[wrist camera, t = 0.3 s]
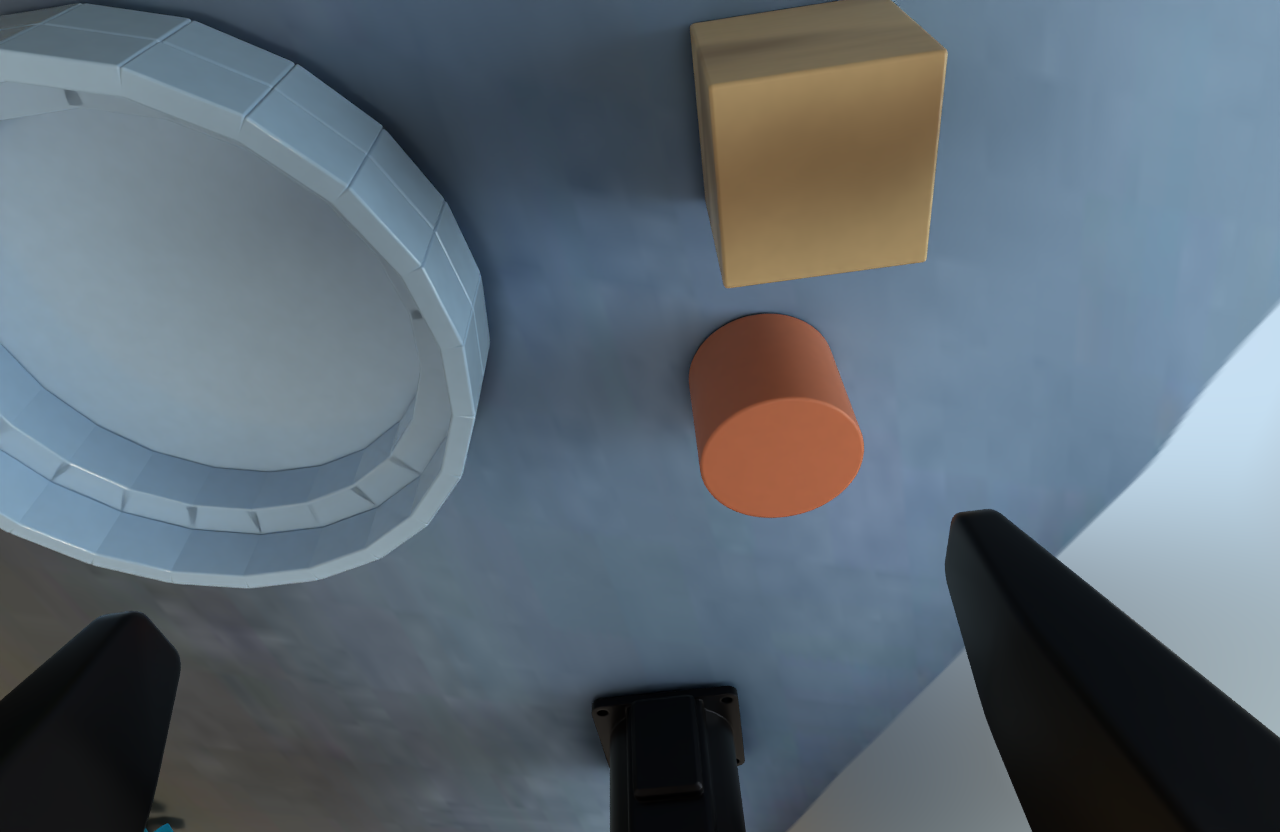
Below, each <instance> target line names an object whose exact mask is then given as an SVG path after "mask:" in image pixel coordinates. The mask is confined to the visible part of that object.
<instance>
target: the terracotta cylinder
mask: <svg viewBox="0 0 1280 832" xmlns="http://www.w3.org/2000/svg"><path fill="white" fill-rule="evenodd" d="M689 388H690V395H691V403H692V411H693V419H694V426H695V434H696V442H697V449H698V457H699V465H700V472H701V476H702V479H703V482H704V484H705V486H706V487H707V489H708V491H709V492H710V493H711V494H712V495H713V496H714V498H715V499H717V500H718V501H719V502H720V503H721V504H723V505H725V506H726V507H728V508H730V509H732V510H734V511H736V512H739V513H742V514H745V515H750V516H755V517H764V518H777V517H787V516H793V515H797V514H801V513H805V512H808V511H810V510H813V509H815V508H818V507H820V506H822V505H824V504H826V503H827V502H829V501H831V500H832V499H834V498H835V497H836V496H838V495H839V494H840V493H841V492H842V491H844V490H845V489H846V488H847V486H848V485H849V484H850V483H851V482H852V480H853V479H854V478H855V476H856V475H857V473H858V471H859V469H860V466H861V463H862V460H863V454H864V441H863V437H862V433H861V431H860V428H859V425H858V422H857V420H856V417H855V414H854V412H853V409H852V406H851V404H850V401H849V398H848V396H847V393H846V390H845V387H844V385H843V382H842V379H841V377H840V374H839V371H838V369H837V366H836V363H835V361H834V358H833V355H832V353H831V350H830V348H829V345H828V343H827V342H826V340H825V339H824V337H823V336H822V335H821V334H820V333H819V332H818V331H817V330H816V329H815V328H813V327H812V326H811V325H809V324H807V323H806V322H804V321H802V320H799V319H797V318H794V317H791V316H787V315H781V314H756V315H751V316H746V317H743V318H740V319H737V320H735V321H732V322H730V323H728V324H726V325H724V326H723V327H721V328H719V329H718V330H717V331H715V332H714V333H713V334H711V335H710V336H709V337H708V338H707V339H706V340H705V341H704V343H703V344H702V345H701V346H700V348H699V349H698V351H697V352H696V354H695V356H694V358H693V360H692V363H691V367H690V371H689Z"/></svg>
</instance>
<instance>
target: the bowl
mask: <svg viewBox="0 0 1280 832" xmlns="http://www.w3.org/2000/svg"><path fill="white" fill-rule="evenodd" d="M489 347H490V336H489V329H488V321H487V314H486V307H485V299H484V292H483V284H482V277H481V275H480V271H479V269H478V267H477V265H476V263H475V260H474V258H473V256H472V254H471V252H470V250H469V248H468V246H467V243H466V241H465V239H464V237H463V235H462V233H461V231H460V229H459V227H458V224H457V222H456V220H455V218H454V216H453V214H452V212H451V210H450V207H449V205H448V203H447V202H446V201H444V198H443V197H442V195H441V194H440V193H439V192H438V191H437V190H436V188H435V187H434V186H433V185H432V184H431V182H430V181H429V180H428V179H427V178H426V177H425V175H424V174H423V173H422V172H421V171H420V169H419V168H418V167H417V166H416V165H415V164H414V162H413V161H412V160H411V159H410V158H409V156H408V155H407V154H406V153H405V152H404V151H403V149H402V148H401V147H400V146H399V145H398V144H397V142H396V141H395V140H394V139H393V138H392V136H391V135H390V134H389V133H388V132H387V131H386V130H385V129H383V126H382V125H381V124H380V123H378V122H377V121H376V120H374V119H373V118H371V117H370V116H369V115H367V114H366V113H365V112H363V111H362V110H360V109H359V108H358V107H356V106H355V105H354V104H352V103H351V102H350V101H348V100H347V99H345V98H344V97H343V96H341V95H340V94H339V93H337V92H336V91H334V90H333V89H332V88H330V87H329V86H328V85H326V84H325V83H324V82H322V81H321V80H319V79H318V78H317V77H315V76H314V75H313V74H311V73H310V72H308V71H307V70H306V69H304V68H303V67H302V66H300V65H299V64H296V65H295V63H293V62H292V61H289V60H287V59H285V58H282V57H280V56H278V55H275V54H273V53H270V52H268V51H266V50H263V49H261V48H259V47H256V46H254V45H251V44H249V43H247V42H244V41H242V40H240V39H237V38H235V37H232V36H230V35H228V34H225V33H223V32H221V31H218V30H216V29H213V28H211V27H209V26H206V25H204V24H202V23H199V22H197V21H191V19H188V18H183V17H176V16H170V15H163V14H156V13H149V12H142V11H135V10H128V9H122V8H115V7H108V6H101V5H94V4H87V3H85V4H82V3H76V4H70V5H64V6H58V7H52V8H46V9H40V10H34V11H28V12H22V13H16V14H10V15H4V16H0V528H1V529H2V530H4V531H6V532H10V533H11V534H13V535H16V536H18V537H21V538H23V539H26V540H28V541H31V542H34V543H36V544H39V545H41V546H44V547H46V548H49V549H51V550H54V551H57V552H59V553H62V554H64V555H67V556H69V557H72V558H74V559H77V560H79V561H82V562H85V563H87V564H92V565H94V566H97V567H102V568H106V569H111V570H115V571H119V572H124V573H128V574H132V575H137V576H141V577H146V578H150V579H154V580H159V581H163V582H168V583H174V584H185V585H200V586H216V587H231V588H248V587H249V588H258V587H267V586H275V585H284V584H293V583H301V582H310V581H317V580H321V579H324V578H327V577H330V576H333V575H336V574H339V573H342V572H344V571H347V570H350V569H353V568H356V567H359V566H362V565H365V564H367V563H370V562H373V561H376V560H378V559H381V558H382V557H384V556H385V555H387V554H388V553H389V552H391V551H392V550H394V549H395V548H397V547H398V546H399V545H401V544H402V543H404V542H405V541H406V540H408V539H409V538H411V537H412V536H414V535H415V534H416V533H418V532H419V531H421V530H422V529H424V528H425V527H426V526H428V524H429V523H430V522H431V521H432V519H433V518H434V516H435V515H436V513H437V512H438V511H439V509H440V508H441V506H442V505H443V503H444V502H445V501H446V499H447V498H448V496H449V495H450V493H451V492H452V491H453V489H454V488H455V486H456V485H457V483H458V482H459V481H460V479H461V477H462V475H463V472H464V467H465V463H466V458H467V454H468V449H469V445H470V440H471V436H472V431H473V427H474V422H475V418H476V413H477V408H478V403H479V398H480V392H481V387H482V382H483V377H484V372H485V367H486V362H487V357H488V352H489Z"/></svg>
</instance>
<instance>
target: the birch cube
mask: <svg viewBox="0 0 1280 832" xmlns="http://www.w3.org/2000/svg"><path fill="white" fill-rule="evenodd" d="M690 35H691V46H692V57H693V68H694V79H695V90H696V102H697V113H698V124H699V135H700V146H701V157H702V168H703V179H704V191H705V202H706V206H707V211H708V215H709V220H710V225H711V229H712V234H713V238H714V243H715V247H716V252H717V257H718V261H719V266H720V270H721V275H722V280H723V284H724V286H725V288H734V287H741V286H749V285H756V284H763V283H771V282H778V281H786V280H793V279H801V278H808V277H816V276H823V275H830V274H838V273H845V272H853V271H860V270H868V269H875V268H882V267H890V266H897V265H905V264H912V263H920V262H924V261H926V258H927V249H928V239H929V229H930V220H931V210H932V200H933V191H934V181H935V171H936V161H937V152H938V142H939V132H940V123H941V113H942V103H943V94H944V84H945V74H946V64H947V55H948V53H947V50H946V49H945V48H944V47H943V46H942V45H941V44H940V43H939V42H937V41H936V40H935V39H934V38H933V37H932V36H931V35H930V34H928V33H927V32H926V31H925V30H924V29H923V28H922V27H921V26H919V25H918V24H917V23H916V22H915V21H914V20H913V19H912V18H910V17H909V16H908V15H907V14H906V13H905V12H904V11H903V10H901V9H900V8H899V7H898V6H897V5H896V4H895V3H894V2H892V1H891V0H841V1H834V2H828V3H822V4H815V5H809V6H802V7H796V8H789V9H783V10H776V11H770V12H764V13H757V14H751V15H744V16H738V17H731V18H725V19H719V20H712V21H706V22H699V23H693V24H692V25H691V26H690Z"/></svg>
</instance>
